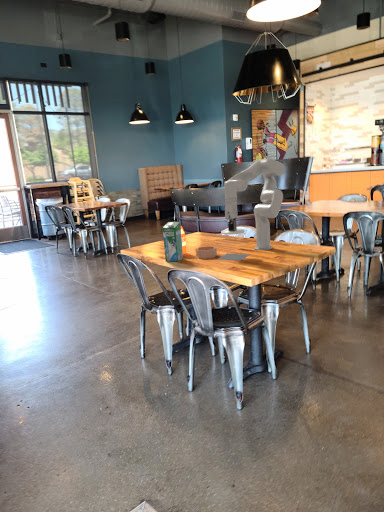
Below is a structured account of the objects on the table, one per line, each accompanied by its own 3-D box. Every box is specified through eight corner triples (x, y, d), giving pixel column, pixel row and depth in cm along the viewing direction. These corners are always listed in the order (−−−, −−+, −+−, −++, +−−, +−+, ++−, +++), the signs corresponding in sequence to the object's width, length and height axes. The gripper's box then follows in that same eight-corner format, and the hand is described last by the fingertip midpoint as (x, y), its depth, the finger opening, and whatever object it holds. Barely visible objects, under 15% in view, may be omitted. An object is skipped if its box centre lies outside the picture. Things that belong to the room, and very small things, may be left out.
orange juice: (175, 252, 280) (173, 225, 276) (186, 252, 276) (184, 225, 272) (170, 254, 273) (168, 227, 269) (181, 255, 269) (179, 227, 265)
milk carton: (165, 261, 254) (162, 223, 249) (171, 258, 263) (168, 221, 257) (177, 261, 251) (174, 223, 246) (183, 258, 259) (180, 221, 254)
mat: (227, 254, 262) (227, 253, 262) (250, 255, 254) (250, 254, 254) (216, 260, 248) (216, 259, 247) (241, 261, 239) (241, 260, 239)
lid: (226, 230, 257) (226, 218, 255) (247, 230, 250) (247, 218, 248) (217, 234, 244) (216, 221, 243) (239, 234, 237) (238, 221, 235)
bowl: (202, 254, 267) (201, 246, 265) (219, 255, 260) (218, 246, 259) (193, 258, 256) (192, 249, 255) (210, 259, 250) (210, 250, 248)
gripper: (230, 199, 251) (232, 227, 256) (220, 202, 237) (221, 231, 241) (241, 199, 248) (242, 227, 252) (231, 201, 234) (232, 231, 238)
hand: (232, 228), depth 247 cm, fingers closed on lid, 4 cm apart
